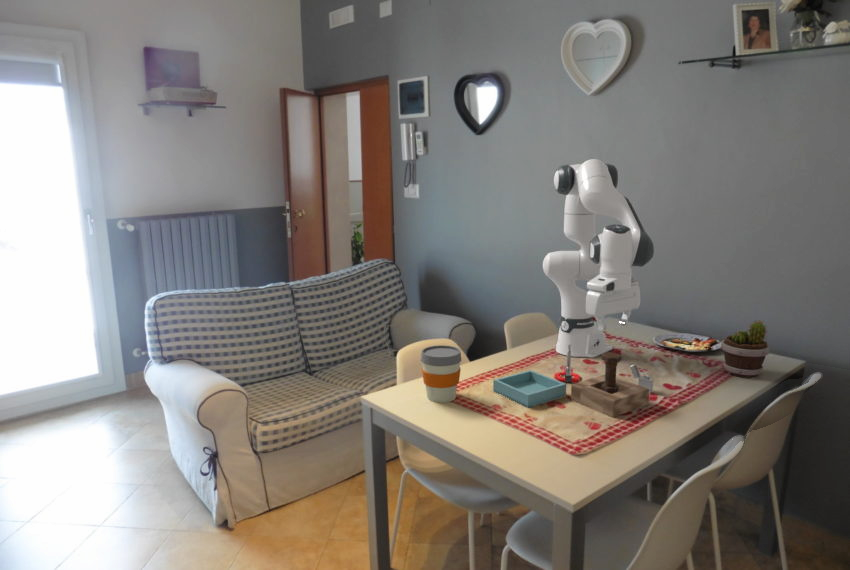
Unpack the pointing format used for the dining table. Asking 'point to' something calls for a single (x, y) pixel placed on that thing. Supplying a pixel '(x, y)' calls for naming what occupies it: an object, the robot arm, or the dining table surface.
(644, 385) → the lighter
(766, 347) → the flowerpot
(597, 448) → the dining table surface
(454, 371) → the reusable coffee cup
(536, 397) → the tray
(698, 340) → the food plate
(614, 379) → the bolt
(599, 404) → the socket block
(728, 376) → the dining table surface
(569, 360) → the red valve handwheel
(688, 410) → the dining table surface
